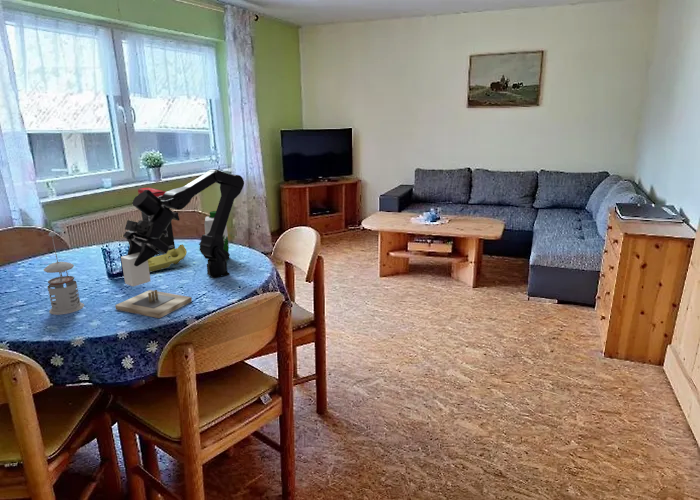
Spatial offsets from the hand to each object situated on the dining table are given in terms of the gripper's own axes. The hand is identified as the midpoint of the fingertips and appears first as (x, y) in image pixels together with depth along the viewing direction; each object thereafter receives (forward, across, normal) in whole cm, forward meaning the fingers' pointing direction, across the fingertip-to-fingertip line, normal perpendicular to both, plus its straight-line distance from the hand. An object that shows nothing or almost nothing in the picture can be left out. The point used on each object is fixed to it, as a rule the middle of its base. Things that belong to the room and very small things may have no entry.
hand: (130, 264), depth 149 cm
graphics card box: (-19, -53, +38) cm, 67 cm away
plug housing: (+4, 0, +6) cm, 7 cm away
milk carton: (-22, -16, +41) cm, 49 cm away
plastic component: (-8, -27, +27) cm, 39 cm away
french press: (+20, -14, -2) cm, 25 cm away
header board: (+8, +8, +10) cm, 15 cm away
